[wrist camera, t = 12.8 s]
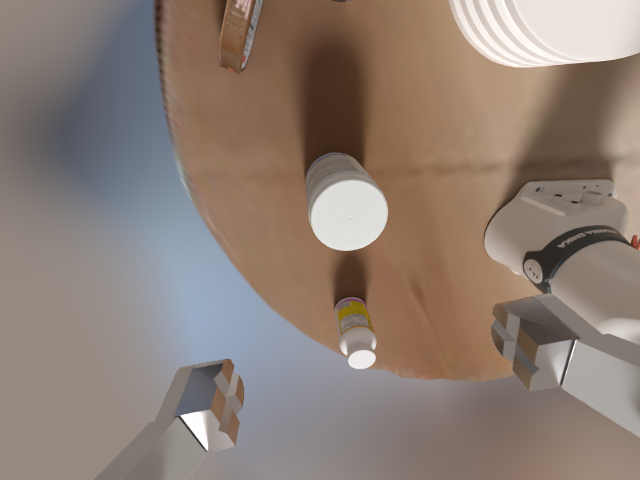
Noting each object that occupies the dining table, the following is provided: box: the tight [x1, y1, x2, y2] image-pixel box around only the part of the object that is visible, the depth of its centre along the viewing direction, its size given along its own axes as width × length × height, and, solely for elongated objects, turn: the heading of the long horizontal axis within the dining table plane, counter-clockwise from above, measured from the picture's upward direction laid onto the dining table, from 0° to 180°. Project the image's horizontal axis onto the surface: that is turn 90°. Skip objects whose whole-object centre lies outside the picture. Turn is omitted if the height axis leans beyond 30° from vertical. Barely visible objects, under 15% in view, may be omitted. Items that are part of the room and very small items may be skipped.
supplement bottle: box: [335, 297, 376, 369], centre depth 54 cm, size 7×7×13 cm
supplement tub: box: [305, 153, 388, 251], centre depth 40 cm, size 10×10×15 cm
